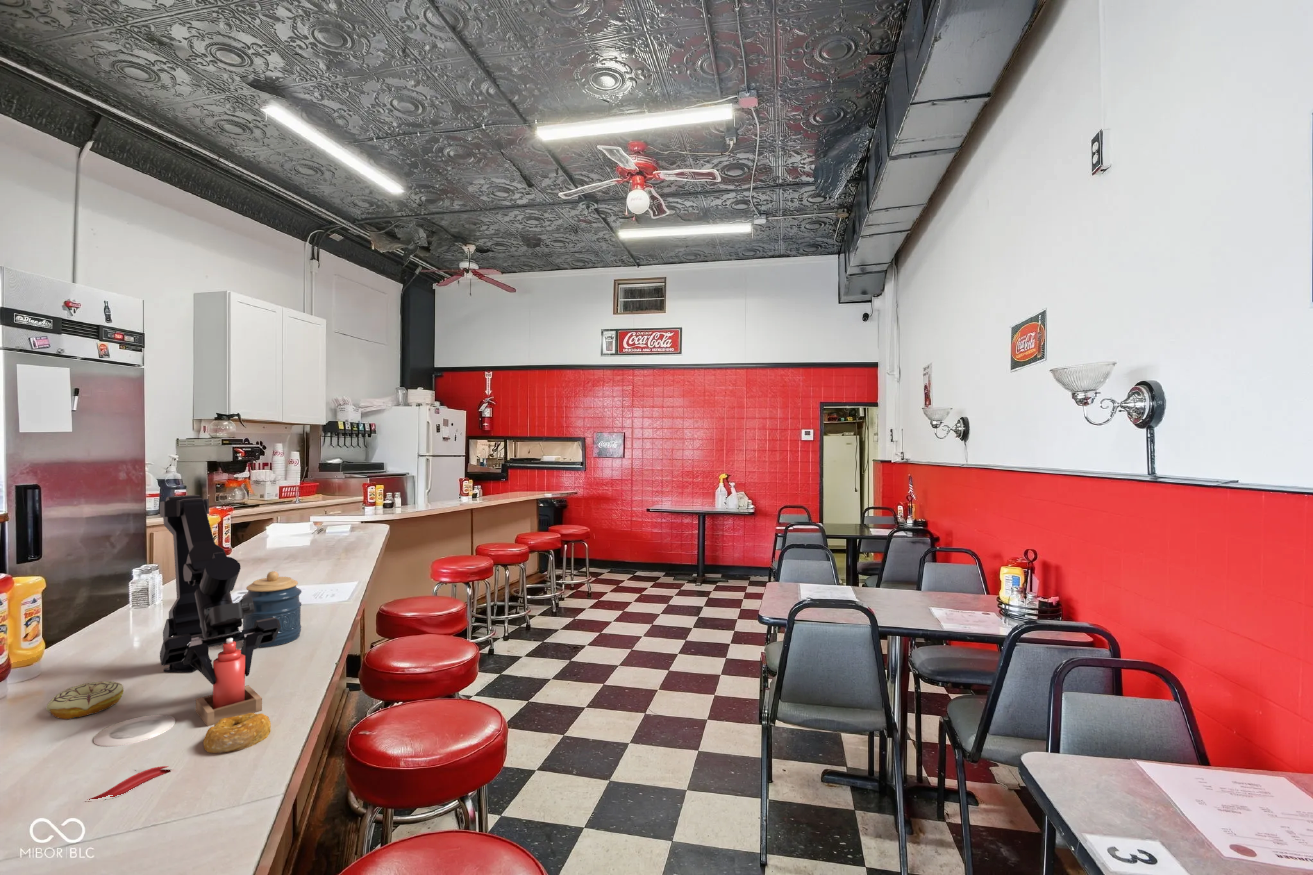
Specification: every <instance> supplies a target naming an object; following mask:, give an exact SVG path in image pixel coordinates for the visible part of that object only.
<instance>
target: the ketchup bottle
mask: <svg viewBox="0 0 1313 875" xmlns="http://www.w3.org/2000/svg"><path fill="white" fill-rule="evenodd" d="M222 645H223V646H222V651H220V652H218V653H217V657H216V658H215V659H214V660H212V661H213V662H212V663H213V664H212V667H213V670H214V673H215V678H216V683H215V684H214V685H212V694H213V709H216V708H220V707H224V706H227V705H231V704H235V703H238V702H242V701H245V686H246V675H245V655H243V654H241V649H239V648H237V642H235V641H233V638H228V639H226V643H224V644H222Z"/></svg>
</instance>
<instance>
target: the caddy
mask: <svg viewBox="0 0 1313 875" xmlns="http://www.w3.org/2000/svg"><path fill="white" fill-rule="evenodd" d="M262 711H263V697H262V696H260V695H259V694H258V693H257V692H256V691H255V690H254V689H253V688H252V687H251V686H250V685H245V701H242V702H238V703H235V704H231V705H227V706H224V707H220V708H216V709H213V693H212V694H209V695H205V696H201V697H196V698H195V713H196V714H197V716H199V718H200V719H201V720H202V721H203V723H204V724H205V725H206V727H212V726H214V725H215V724H217V723H218V722H219V720H221V719H223V718H228V717H234V716H239V715H245V714H248V713H255V714H257V713H259V712H262Z"/></svg>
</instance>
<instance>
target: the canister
mask: <svg viewBox="0 0 1313 875" xmlns="http://www.w3.org/2000/svg"><path fill="white" fill-rule="evenodd" d="M298 584H299V582H298V581H297V580H295V579H293V578H292V577H289V576H280V575H279V573H278V572H277V571H276V570H275V571H273V570H272V571H269V572H268V573H267V574H266V577H264V578H260V579H257V580H254V581H253V582H252V583H250V584H248V585H247V586H246V587H245V588H246V591H247V592H246V593H245V594H243V596H241V599H242V598H249V597H252V600H253V603H254V612H253V613H252V614H251V615H245V616H244V619H242V630H246V629H251V628H253V626H254V624H255V621H257V620H262V619H268V618H273V617H275V618H276V619H278V620H279V622H280V626H281V628H280V630H279V632H278V635H277V637H276V639H275V641H273V642H271V643H266V644H262V645H259V647H258V648H268V647H275V646H280V645H284V644H287V643H291V642H293V641H295V640H298V638H299V637H300V635H301V632H302V625H301V617H302V616H301V607H302V602H301V601H300V595H301V594H302V593H303V592H302V591H303V590H301V588H299V587H297V585H298Z"/></svg>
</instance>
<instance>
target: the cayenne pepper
mask: <svg viewBox="0 0 1313 875" xmlns="http://www.w3.org/2000/svg"><path fill="white" fill-rule="evenodd" d="M168 767H169V765H168V766H166V765H163V766H157V767H152V768H149V769H146V770H143V771H141V772H137V773H136V774H134V775H132V776H129V777H128V778H126V779H124V780H122V781H121V782H119V783H117V784H116V785H114V786H113V787H111V788H109V789H107V791H106V790H105V792H102V793H100V794H97V795H96V796H94V797H90V798H88V799H89V800H90V799H98V798H102V797H106V796H108V795H113V796H110V797H115V796H117V795H121V794H123V795H125V794H127V793H129V792H130V791H129V790H131V789H132V790H134V789H136V788H138V787H139V786H142V785H143V784H145V783H147V782H149V781H150V780H153V778H154V779H155V778H158V777H160V776H164V775H166V774H168V773H171V771H172V770H171V769H165V768H168ZM142 783H143V784H142ZM135 787H136V788H135ZM133 788H134V789H133ZM132 790H131V791H132ZM128 791H129V792H128ZM126 792H127V793H126ZM124 793H125V794H124ZM121 796H122V795H121ZM115 798H116V797H115Z"/></svg>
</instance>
